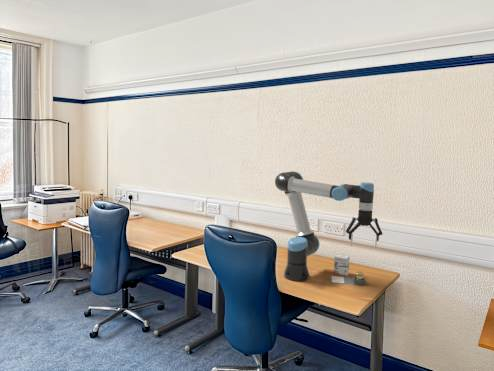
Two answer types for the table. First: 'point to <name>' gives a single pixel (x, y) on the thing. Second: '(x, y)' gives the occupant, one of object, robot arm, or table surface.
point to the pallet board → (342, 280)
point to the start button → (359, 275)
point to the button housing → (359, 281)
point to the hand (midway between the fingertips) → (363, 245)
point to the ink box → (341, 264)
